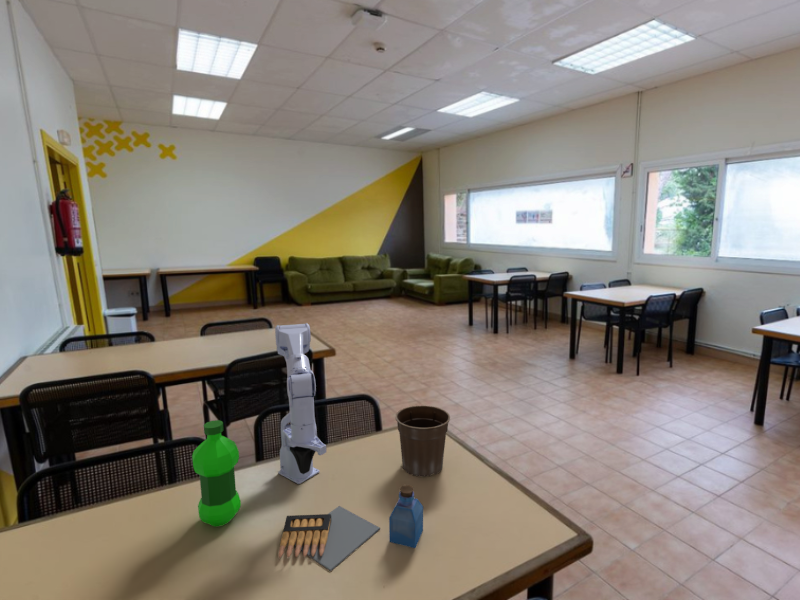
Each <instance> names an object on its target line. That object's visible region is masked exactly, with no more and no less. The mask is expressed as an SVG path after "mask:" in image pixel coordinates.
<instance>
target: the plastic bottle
mask: <svg viewBox="0 0 800 600" xmlns="http://www.w3.org/2000/svg"><path fill="white" fill-rule="evenodd" d="M203 431H204V435H206V439H205V440H204V441H202V442H201V443H200V444H199V445H198V446H197V447H196V448H195V449H194V450H193V451H192V455H191V459H192V468H193V470H194V473H195V474H197V475H199V483H200V484H199V485H200V493H201V494H200V499H199V502H198V504H197V510H198V511H197V512H198V516H199V517H198V518H199V520H200V521H202V522H203V523H205V524H207V525H210V526H212V527H215V528H217V527H223V526H225V525H226V524H229V522H230V521H232V520H233V518H234V517H235V516H236V514H238V512H239V511H240V508H241V505H242V502H241V498H240V494H239V492H238V490H236V489H237V488H236V475H235V467H236V465H237V463H239V459H240V452H239V449H238V446H237V444H236V442H235V441H234V440H232V439H230V438H229V437H226V436H224V435H222V432H223V431H224V422H223V421H222V420H219V419H218V420H210V421H207V422H206V423H204V424H203Z"/></svg>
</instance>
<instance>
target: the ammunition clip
mask: <svg viewBox="0 0 800 600" xmlns="http://www.w3.org/2000/svg"><path fill="white" fill-rule="evenodd" d="M284 521H285V522H284V525H283V531H282V536H281V539H280V542H279V549H278V558H279V559H281V558H282V557H283V554H284V553H285V549H286V548H287V549H286V558H287V559H288V558H290V556H291V555H292V553H293V550H294V548H295V551H294V555H295V558H298V557H299V555H300V553H301V552H302V551H301V548H302V545H303V543H304V549H303V552H302V554H303V558H305V557H307V553H308V551H309V547H310V544H311V542H312V548H311V555H312V557H313V556H314V555H315V553H316V550H317V546H318V543H319V540H320V548H319V554H320V556H322V555H323V553H324V550H325V546H326V543H327V538H328V534H329V529H330V525H331V514H328V513H324V514H322V513H320V514H297V515H286V517H285V520H284ZM306 530H307V531H306ZM321 530H322V531H321ZM313 532H314V533H313ZM320 536H321V537H320ZM312 537H313V539H312ZM296 539H297V541H296ZM304 539H305V540H304ZM295 543H296V547H294V545H295Z"/></svg>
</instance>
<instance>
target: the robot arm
mask: <svg viewBox="0 0 800 600" xmlns="http://www.w3.org/2000/svg"><path fill="white" fill-rule="evenodd" d="M274 335H275V345H276V351H277V354H278V355H280V356H283V357H284V360H285V362H286V372H287V373H286V374H287V378H286V390H287V396H288V404H289V412H288V413H287V414H286V415H285V416H284V417H282V419H281V421H280V437H281V439H280V440H281V447H280V450H279V466H280V468H279V469H280V470H279V471H277V472H278V474H279V475H281V476H283V477H284V478H286V479H288V480H290V481H292V482H293V483H296V484H298V485H300V484H302V483H303V482H306V481H307V480H309V479H310V478H312V477H314V476H316V475H317V474H319V473H320V472H321V471H320V469H318V468H315V467H314V463H313V461H314V459H313V458H314V456H315V454H316V452H317V455H318V456H322V455H325V454H326V453H327V445H326V444H325V443H323V442H322V441H321V439H320V438H319V437H318V432H317V431H318V430H317V429H318V428H317V424H316V417H315V401H314V400H315V399H314V398H315V396H316V392H317V388H316V387H317V385H316V378H315V374H314V372H313V370H311V365H310V360H309V357H308V356H307V355H305V354H307V353H308V352H309V350H310V347H311V345H310V344H311V340H312V339H311V337H312V336H311V335H312V334H311V326H310V324H308V322H305V323H297V324H284V325H282V324H281V325H279V324H278V325H276V326H275V327H274ZM289 423H290V424H289Z"/></svg>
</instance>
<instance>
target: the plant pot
mask: <svg viewBox="0 0 800 600" xmlns="http://www.w3.org/2000/svg"><path fill="white" fill-rule="evenodd" d="M394 418H395V421H396V423H397V424H396V425H397V431H398V432H399V442H400V451H401V452H400V453H401V465H402V469H403V470H405V471H406V473H408V474H409V475H412V476H415V477H423V478H425V477H431V476H432V475H438V474H439V473H440V472H441V471H442V469H443V467H444V466H443V465H444V455H445V447H446V446H445V445H446V437H447V433H448V429H449V422H450V421H451V415H450V413H449V412H447V411H446V410H445V409H443V408H440V407H437V406H432V405H411V406H410V405H409V406H407V407H404V408H401V409H400V410H398V411H397V412H396V413H395V416H394Z"/></svg>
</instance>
